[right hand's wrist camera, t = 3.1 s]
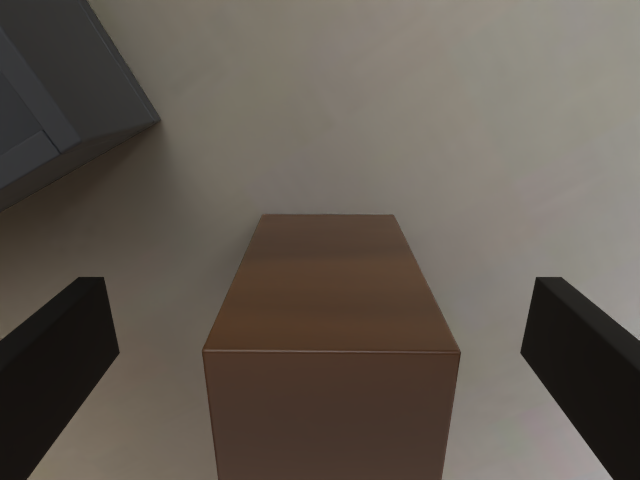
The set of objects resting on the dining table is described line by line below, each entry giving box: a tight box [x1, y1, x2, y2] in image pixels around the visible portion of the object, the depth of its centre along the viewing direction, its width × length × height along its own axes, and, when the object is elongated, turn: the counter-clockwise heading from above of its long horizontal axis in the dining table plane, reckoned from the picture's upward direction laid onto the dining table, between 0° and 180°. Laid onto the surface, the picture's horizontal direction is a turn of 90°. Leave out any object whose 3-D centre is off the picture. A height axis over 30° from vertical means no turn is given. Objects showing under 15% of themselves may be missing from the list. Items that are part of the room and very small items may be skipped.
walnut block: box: [202, 214, 461, 480], centre depth 11 cm, size 4×4×8 cm
